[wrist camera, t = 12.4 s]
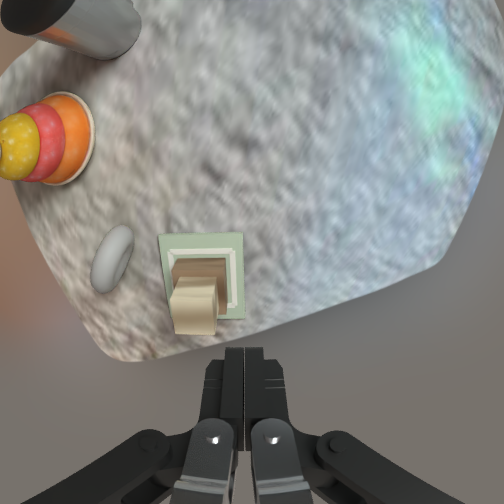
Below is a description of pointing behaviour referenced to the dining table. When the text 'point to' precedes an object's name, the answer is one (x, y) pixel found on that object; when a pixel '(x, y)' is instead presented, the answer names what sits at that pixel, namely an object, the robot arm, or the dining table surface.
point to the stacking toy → (47, 140)
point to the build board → (208, 247)
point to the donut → (111, 259)
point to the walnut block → (204, 275)
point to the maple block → (195, 305)
